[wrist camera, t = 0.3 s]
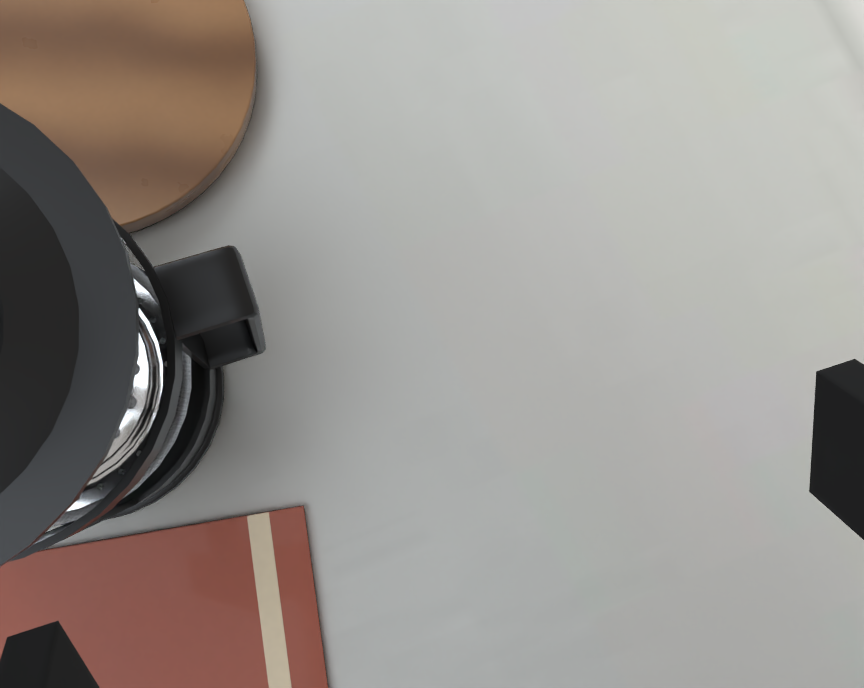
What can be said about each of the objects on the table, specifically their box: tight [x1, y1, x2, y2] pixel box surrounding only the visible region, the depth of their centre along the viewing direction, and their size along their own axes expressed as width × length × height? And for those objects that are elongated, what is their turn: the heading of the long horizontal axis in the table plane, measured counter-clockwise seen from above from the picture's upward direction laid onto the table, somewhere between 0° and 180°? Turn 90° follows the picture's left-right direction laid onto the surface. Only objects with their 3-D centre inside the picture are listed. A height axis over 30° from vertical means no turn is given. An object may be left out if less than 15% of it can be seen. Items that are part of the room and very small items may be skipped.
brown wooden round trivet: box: [0, 0, 257, 233], centre depth 29 cm, size 14×14×1 cm
